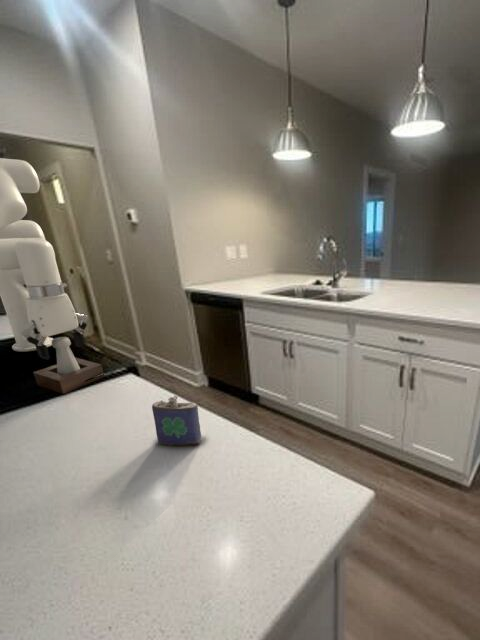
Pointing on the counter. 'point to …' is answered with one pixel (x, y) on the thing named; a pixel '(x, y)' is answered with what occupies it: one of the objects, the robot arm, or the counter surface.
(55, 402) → the counter surface
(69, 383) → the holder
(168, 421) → the flask
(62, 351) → the salt shaker
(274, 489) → the counter surface
